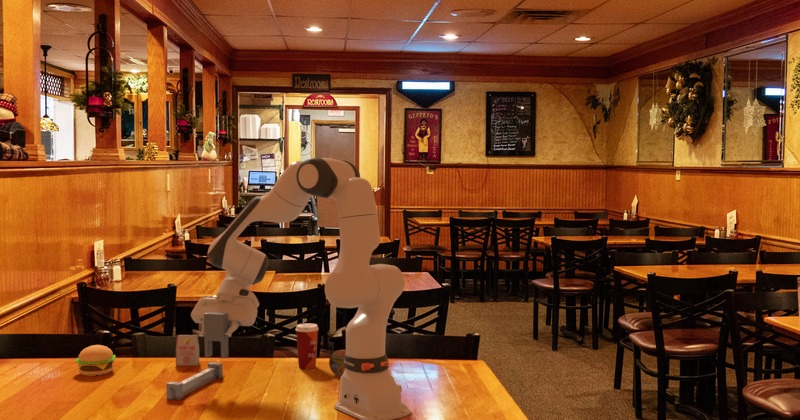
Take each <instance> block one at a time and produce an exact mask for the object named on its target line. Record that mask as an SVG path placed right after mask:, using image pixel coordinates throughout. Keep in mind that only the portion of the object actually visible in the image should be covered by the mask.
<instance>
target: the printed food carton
mask: <svg viewBox="0 0 800 420" xmlns="http://www.w3.org/2000/svg"><path fill="white" fill-rule="evenodd" d="M175 342H176V343H175V367H197V366H198V365H199V364H200V344H199V338H198V335H197V334H194V335H193V334H192V335H191V334H176V341H175Z"/></svg>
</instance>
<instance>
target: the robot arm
mask: <svg viewBox="0 0 800 420" xmlns="http://www.w3.org/2000/svg"><path fill="white" fill-rule="evenodd" d="M312 196H313V197H320V198H323V199H324V198H325V199H327V198H331V199H333V200H334V201H335V203H336V207H337V208H336V209H337V217H338V219H337V220H338V227H339V239H340V241H339V242H340V245H339V246H340V247H339V254H338V257H337V261H336V264H335V267H334V269H332V271H331V273H330V274H329V275H328V277H327V278H326V280H325V282H324V283H325V284H324V294H325V297H326V299H327V302H329V304H330V305H332V306H333V307H335V308H340V309H355V308H357V311H356V313H355V314H354V317H353V318H351V320H350V321H349V322H348V324H347V325H346V328H345V350H346V353H345V355H344V367H345V371H344V373H343V375H342V376H341V377H339V378H340V379H339V389H338V401H337V402H335V403H334V409H335V410H338V411H341V412H343V413H345V414H347V415H349V416H352V417H354V418H357V419H358V420H395V419H401V418H404V417H407V416H409V415H410V414H411V410H410V408H408V407H407V406H406V404H405V403H404V402H402V392H403V387H402V384H397V383H396V381H395V378H394V377H395V376H392V374H391V371H390V370H389V367H390V366H389V365H390V364H389V363H390V361H389V360H388V354H387V353H386V334H387V325H388V319H389V316H390V314H391V311H392V308H393V306H394V304H395V303H396V301H397V300H398V298H399V297H400V296H401V295H402V293H403V291H404V288H405V277H404V274H403V272H402V271H401V269H400V268H399V267H398V266H396V265H393V264H392V265H391V264H386V263H385V264H384V263H377V264H371V265H370V261H371V257H372V254H373V253H374V250H376V249H377V248H378V246H379V245H380V242H381V234H380V233H381V232H380V225H379V214H378V208H377V203H376V198H375V194H374V191H373V187H372V185H371V182H369V181H368V179H366V178H363V177H361V174H360V170H359V169H358V167H357V166H356V165H355V164H354V163H352V162H349V161H347V160H340V159H336V158H333V157H311V158H308V159H306V160H304V161H302V160H296V161H293V162H292V163H290V164H289V165H288V166H287V167H286V168H285V170H284V171H283V172H282V173H281V175H280V176H279V177H278V179H277V180H276V182H275V183H274V185H273V187H272V188H271V190H270V191H268V192H266V193H265V194H264V195H261V196H260V195H259V196H255V197H253V198H251V200H250V201H249V202H248V203H247V204H246V205H245V206H244V207H243V208H242V210H241V211H239V213H238V214H237V215H236V216H235V217H234V219H232V221H231V222H230V223H229V224H228V226H227V227H226V228H224V230H223V231H222V232H221V233H220V234H219V235H218V236H217V237H216V238H215V239H213V241H212V242H211V243H210V245H209V247H208V250H207V253H206V255H207V259H208V261H209V263H210V264H211V265H212V266H213V267H215V268H219V269H223V270H225V271H226V272H225V275H224V279H223V280H222V281H221V284H220V285H219V288H218V290H217V292H216V295H204V296H202V297H200V298H199V299H198V300H197V301H198V302H196V304H195V306H194V307H193V309H192V311H191V312H190V317H191V319H192V321H194V323H195V324H201V330H200V334H201V335H202V336H204V313H207V312H216V313H228V326H229V327H228V329H226V330H225V332H224V335H225V337H228V338H230V337H232V335H233V333H234V332H235V331H237V329H239V327H240V326H241V327H251V326H253V325H254V323H255V322H256V318H257V317H258V308H259V306H260V302H259V299H258V298H257V296H256V294H254V292H253V291H252V290H250V287H251V286H253V285H256V284H259V283H260V282H262V281H263V280H264V277H265V275H266V272H267V269H268V267H269V265H270V262H269V261H270V260H269V259H268V256H267V254H265V253H264V252H262V251H260V250H258V249H256V248H254V247H252V246H249V245H248V244H246V243H243V242H242V241H239V240H238V239H237V238H238V237H239V236H240V235H241V234H242V232H244V230H245V229H246V228H247V227H248V225H250V224H251V223H253V222H270V223H276V224H283V223H290V222H293V221H295V220H296V219H297V218H299V216H300V215H301V214H302V212H303V211H304V210H305V208H306V206H307V205H308V203H309V201H310V199H311V197H312Z"/></svg>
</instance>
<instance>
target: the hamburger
mask: <svg viewBox="0 0 800 420" xmlns="http://www.w3.org/2000/svg"><path fill="white" fill-rule="evenodd" d="M113 353H114V352H113V351H112V350H111V348H109V347H108V346H106V345H101V344H95V345H93V344H92V345H89V346H88V347H85V348H84V349H82V351H80V353H79V354H78V357H76V358H75V362H76V363H77V369H78V372H79V374H80V375H81V376H82V375H83V376H87V377H97V376H96V375H99V376H103V374H104V375H106V374H107V375H108V374H109V373H111V372H112V371H113V369H114V366H113V363H115V359H116V358H117V357H116V354H113Z"/></svg>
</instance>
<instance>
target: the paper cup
mask: <svg viewBox="0 0 800 420" xmlns="http://www.w3.org/2000/svg"><path fill="white" fill-rule="evenodd" d="M294 331H296V343H297V344H296V346H297V361H298V368H299V369H301V370H312V369H315V368H316V367H317V351H318V348H317V347H318V334H319V333H318V331H319V327H318V324H317V323H305V322H304V323H299V324H297V325H296V328H295V330H294Z"/></svg>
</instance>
